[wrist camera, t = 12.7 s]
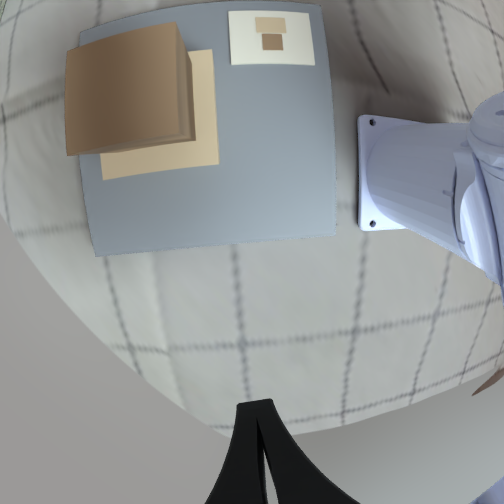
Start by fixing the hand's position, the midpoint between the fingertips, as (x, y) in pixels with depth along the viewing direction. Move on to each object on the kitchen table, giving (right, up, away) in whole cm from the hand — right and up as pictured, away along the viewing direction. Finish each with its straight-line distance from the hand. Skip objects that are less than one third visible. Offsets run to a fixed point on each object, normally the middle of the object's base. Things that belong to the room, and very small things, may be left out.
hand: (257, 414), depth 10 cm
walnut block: (-5, +14, +1) cm, 15 cm away
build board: (-3, +15, +5) cm, 16 cm away
